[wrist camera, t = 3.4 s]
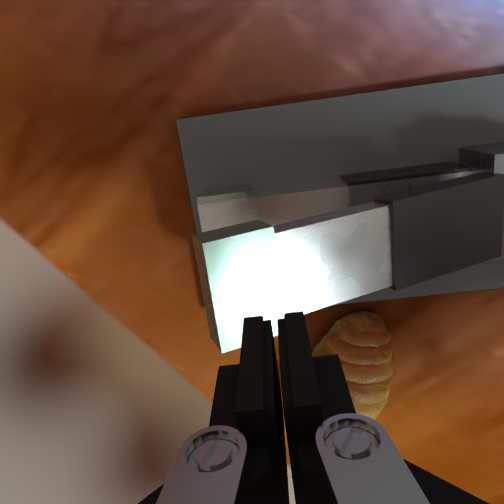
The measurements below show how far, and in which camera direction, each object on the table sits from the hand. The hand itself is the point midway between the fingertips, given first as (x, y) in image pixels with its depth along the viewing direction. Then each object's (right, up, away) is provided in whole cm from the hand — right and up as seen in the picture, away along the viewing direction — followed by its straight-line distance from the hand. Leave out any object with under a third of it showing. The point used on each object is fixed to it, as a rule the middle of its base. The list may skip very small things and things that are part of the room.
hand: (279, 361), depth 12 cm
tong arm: (+4, +3, +9) cm, 11 cm away
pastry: (+6, -6, +22) cm, 24 cm away
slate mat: (+7, +6, +17) cm, 20 cm away
